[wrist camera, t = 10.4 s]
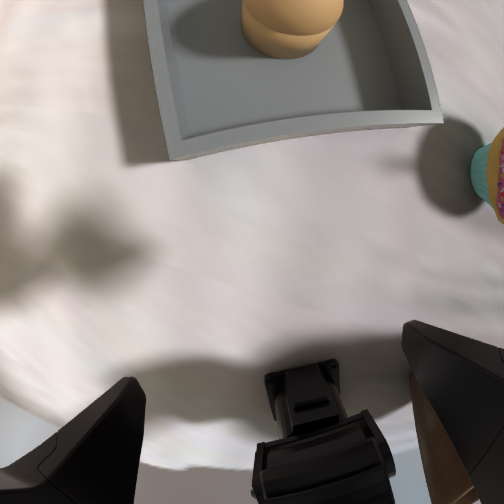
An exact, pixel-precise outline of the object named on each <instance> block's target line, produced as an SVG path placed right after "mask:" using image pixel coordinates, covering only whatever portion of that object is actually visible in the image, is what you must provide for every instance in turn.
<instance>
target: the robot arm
mask: <svg viewBox="0 0 504 504" xmlns="http://www.w3.org/2000/svg"><path fill="white" fill-rule="evenodd" d="M401 344H402V349H403V351H404V353H405V355H406V357H407V360H408V362H409V364H410V366H411V368H412V370H413V373H414V375H415V377H416V379H417V381H418V383H419V385H420V387H421V389H422V390H423V392H424V394H425V395H426V397H427V399H428V400H429V402H430V404H431V406H432V407H433V409H434V411H435V413H436V414H437V416H438V418H439V420H440V421H441V423H442V425H443V427H444V429H445V430H446V432H447V434H448V436H449V438H450V440H451V442H452V443H453V445H454V447H455V449H456V451H457V453H458V455H459V457H460V459H461V461H462V463H463V465H464V467H465V469H466V471H467V473H468V474H469V478H470V480H471V482H472V484H473V486H474V488H475V490H476V493H477V495H478V497H479V499H480V501H481V504H504V349H502V348H497V347H496V346H493V345H490V344H487V343H484V342H481V341H477V340H474V339H471V338H468V337H465V336H462V335H459V334H456V333H453V332H450V331H447V330H444V329H441V328H438V327H435V326H432V325H429V324H426V323H423V322H420V321H417V320H412V321H409V322H406V323H405V324H404V325H403V332H402V343H401ZM333 364H334V365H333ZM331 365H333V366H331ZM268 379H271V380H268ZM264 382H265V386H266V390H267V394H268V398H269V401H270V405H271V409H272V413H273V417H274V420H275V421H277V424H278V431H279V437H280V439H279V440H275V441H271V442H266V443H265V442H262V443H257V450H256V452H255V460H254V469H253V478H252V489H251V495H252V497H253V498H255V499H257V501H258V503H259V504H395V500H394V496H393V492H392V489H391V485H390V481H389V478H391V477H393V476H395V474H396V470H395V464H394V460H393V456H392V454H391V451H390V448H389V446H388V443H387V441H386V439H385V437H384V436H383V434H382V432H381V431H380V429H379V428H378V426H377V424H376V423H375V421H374V419H373V418H372V416H371V414H370V413H369V411H368V410H367V409H366V410H364V411H361V413H359V414H356V415H354V416H351V417H349V418H348V415H347V413H346V410H345V408H344V405H343V403H342V400H341V398H340V381H339V363H338V361H337V360H335V359H332V360H328V361H324V362H320V363H316V364H312V365H308V366H303V367H299V368H295V369H290V370H285V371H280V372H275V373H270V374H267V375H265V377H264ZM145 406H146V396H145V393H144V391H143V389H142V388H141V386H140V384H139V382H138V381H137V379H136V378H135V377H123V378H122V379H121V380H119V381H118V382H117V383H116V384H115V385H113V386H112V387H111V388H110V389H109V390H107V391H106V392H105V393H104V394H103V395H101V396H100V397H99V398H98V399H96V400H95V401H94V402H93V403H92V404H90V405H89V406H88V407H87V408H85V409H84V410H83V411H82V412H81V413H79V414H78V415H77V416H76V417H74V418H73V419H72V420H71V421H70V422H68V423H67V424H66V425H65V426H63V427H62V428H61V429H60V430H58V433H57V432H56V433H55V434H53V435H52V436H51V437H50V438H48V439H47V440H46V441H45V442H43V443H42V444H41V445H39V446H38V447H36V448H35V449H33V450H32V451H30V452H29V453H27V454H26V455H25V456H23V457H21V458H20V459H19V460H17V461H15V462H14V463H12V464H10V465H9V466H7V467H4V468H0V504H134V497H135V489H136V481H137V474H138V467H139V461H140V454H141V448H142V442H143V435H144V421H145Z"/></svg>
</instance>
